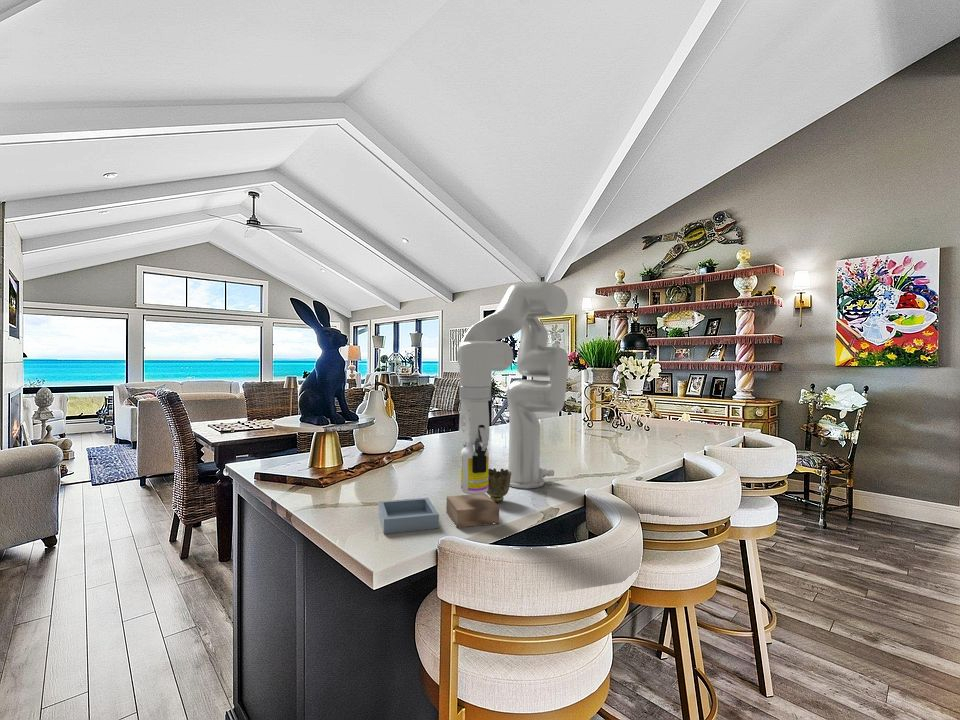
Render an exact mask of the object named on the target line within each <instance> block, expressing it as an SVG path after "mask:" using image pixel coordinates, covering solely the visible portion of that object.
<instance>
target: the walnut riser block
mask: <svg viewBox="0 0 960 720" xmlns="http://www.w3.org/2000/svg"><path fill="white" fill-rule="evenodd" d="M445 505H446V507H445V508H446V509H445V511H446V514H448V515H449V516H448V515H447V516H448V517H449V519H450V518H451V519H450V520H451V522H452V521H453V522H454V523H453V522H452V523H453V524H455V525H456V526H455V525H454V526H455V527H456V528H457V527H464V528H467V527H466V526H474V527H477V526H476V525H484V526H486V525H485V524H493V523H499V524H500V506H499V505H498V503H495V502H494V501H493V500H492V499H491V498H490V495H489V496H488V494H487V493H483V494H479V495H470V494H462V495H461V494H460V495H450V496H448V495H447V496H446V504H445ZM493 525H494V524H493Z"/></svg>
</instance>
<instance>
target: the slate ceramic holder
mask: <svg viewBox="0 0 960 720" xmlns="http://www.w3.org/2000/svg"><path fill="white" fill-rule="evenodd" d="M439 516H440V514H439V512H438V510H437V509H436V507H435V506H434V505H433V503H432V502H431V500H430V498H429V497H418V498H409V499H395V500H394V499H393V500H392V499H391V500H382V501H378V518H379V522H380V526H381V529H382V533H383V535H386V534H395V533H397V534H398V533H404V532H405V533H406V531H407V532H414V531H415V532H416V531H425V529H427V530H435V529H434V528H437V529H440V528H439V523H440V522H439V521H440V519H439V518H440V517H439Z"/></svg>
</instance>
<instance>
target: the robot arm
mask: <svg viewBox="0 0 960 720" xmlns="http://www.w3.org/2000/svg"><path fill="white" fill-rule="evenodd" d="M566 293H567V292H565V290H564V289H563V288H562V287H560V286H558V285H555V284H553V283H552V282H550V281H529V282H517V283H514V284H511V285H510V286H509V287H508V288H507V289H506V291H505V293H504V296H503V297H502V299H501V301H500V303H499V304H498V306H497V308H496V309H495V311H494V312H493V313H491V314H489V315H487V316H486V317H484V318H483V319H481V320H479V321H478V322H476V323H475V324H473V325H472V326H471V327H470V328H469V329H468V330H467V331H466V332H465V334H464V336H463V338H462V339H461V341H460V343H459V346H458V348H457V351H456V361H457V364H458V365H459V397H458V398H459V401H460V406H459V407H460V408H459V422H458V423H459V424H458V436H459V438H460V439H461V440H463V444H462V445H463V448H465V447H466V444H465V442H467V443H468V444H472V442H473V450H474V455H473V456H472V472H473V473H484V472H486V455H487V451H486V450H488V445H489V440H490V411H489V410H490V409H489V407H490V406H489V402H490V401H492V398H491V397H492V372H503V371H505V370H507V369H509V367H511V365H512V363H513V361H514V351H513V348H512V347H511V346H510V345H509V344H508V343H506V342H504V341H501V340H502V339H504V338H508V337H511V336H513V335H516V334H517V333H518V332H520V340H519V347H518V352H517V361H516V370H517V372H518V373H519V374H520V375H521V376H524V377H529V378H530V377H531V378H548V379H549V380H539V379H515V380H514V381H512V382H510V383H509V384H508V386H507V391H506V399H507V405H508V417H509V420H508V421H509V423H508V424H509V430H508V467H507V469H508V471H509V472H510V471H511V479H510V486H509V487H512V488H517V489H518V488H519V489H536V488H540V487H543V486H544V485H545V477H554V476H555V471H554V469H546V468H541V466H540V465H541V433H542V432H541V431H542V429H541V422H540V421H539V419H538V417H537V416H536V414H535V413H536V412H537V413H547V414H557V413H560V412H561V411H562V410H563V408H564V405H565V400H566V394H567V385H568V377H569V367H570V366H569V365H570V364H569V363H570V362H569V361H570V360H569V355H568V353H567V350H565V349H564V347H563V348H562V347H559V346H548V337H549V333H548V329H546V327H545V325H544V324H543V323H542V322H541V320H540V319H539V318H538V317H541V318H542V317H561V316H563V315H565V313H566V311H567V309H568V301H569V300H568V297H567V296H568V295H567V294H566ZM498 340H500V341H498ZM476 440H480V441H481V442H475V441H476ZM477 445H480V446H479V447H478V449H477Z"/></svg>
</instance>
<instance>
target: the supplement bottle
mask: <svg viewBox="0 0 960 720" xmlns="http://www.w3.org/2000/svg"><path fill="white" fill-rule="evenodd" d="M475 442H481V441H480V440H476V441H475ZM465 444H466V447H465V448H464V447H463V448H462V449H461V451H460V490H461V492H463V493H464V494H465V495H479V494H487V491H488V469H489V453H490V452H489V451H488V449H487V450H486V451H487V455H486V472H484V473H473V472H472V456H473V455H474V450H473V442H472V444H468V443H467V442H465ZM479 446H480V445H477V449H478V447H479Z"/></svg>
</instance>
